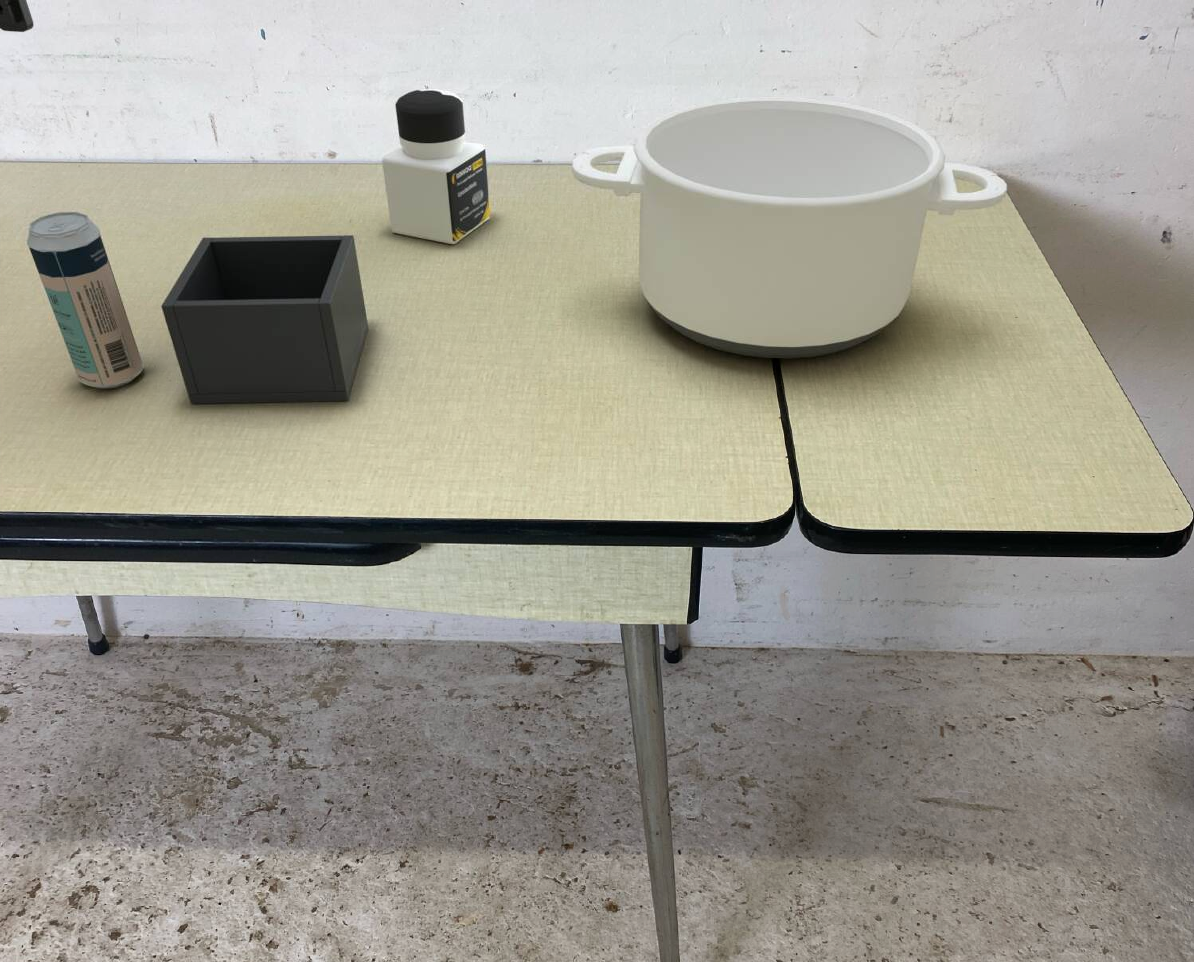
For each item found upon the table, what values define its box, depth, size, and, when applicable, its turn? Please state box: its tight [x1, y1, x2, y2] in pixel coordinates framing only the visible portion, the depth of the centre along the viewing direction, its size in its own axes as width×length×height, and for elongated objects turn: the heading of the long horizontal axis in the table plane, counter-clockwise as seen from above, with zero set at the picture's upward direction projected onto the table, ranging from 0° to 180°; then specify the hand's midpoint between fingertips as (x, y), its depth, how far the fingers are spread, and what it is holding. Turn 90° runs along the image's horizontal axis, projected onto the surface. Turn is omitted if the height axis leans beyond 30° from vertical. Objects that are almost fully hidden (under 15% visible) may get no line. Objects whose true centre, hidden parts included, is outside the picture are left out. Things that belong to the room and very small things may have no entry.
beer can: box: [26, 211, 145, 389], centre depth 76 cm, size 5×5×12 cm
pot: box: [571, 96, 1008, 359], centre depth 84 cm, size 33×23×14 cm
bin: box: [161, 234, 369, 405], centre depth 79 cm, size 12×12×8 cm
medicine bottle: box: [381, 88, 491, 245], centre depth 98 cm, size 7×7×12 cm
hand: (57, 13), depth 70 cm, fingers open, 8 cm apart
